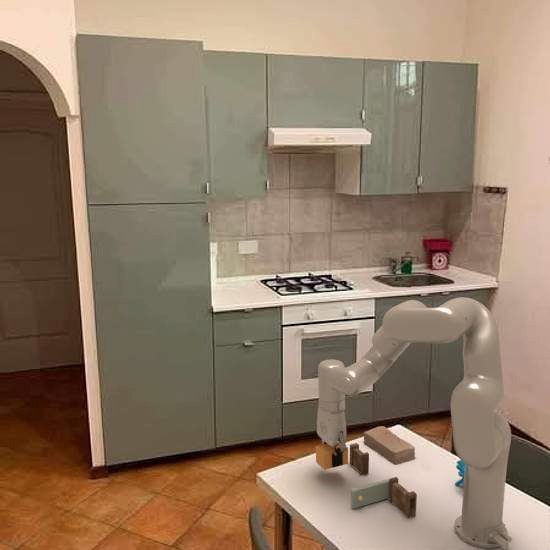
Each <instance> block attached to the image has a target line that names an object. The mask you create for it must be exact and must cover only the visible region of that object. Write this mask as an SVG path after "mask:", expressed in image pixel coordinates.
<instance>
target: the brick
mask: <svg viewBox="0 0 550 550" xmlns="http://www.w3.org/2000/svg"><path fill="white" fill-rule="evenodd" d="M363 443H364V444H365V445H366V446H367V445H368V446H369V448H370V449H371V450H373V451H374V450H375V451H374V452H376V453H377V452H378V453H377V454H379V455H380V454H381V456H382V457H383V456H384V457H383V458H385V459H386V460H388V461H389V462H391V463H393V464H394V465H397V466H398V465H400V464H404V463H406V462H411V461H413V460H415V459H416V457H415V455H416V452H415V450H416V447H415V446H414V445H412V444H411V443H410V442H408V441H407V440H404V439H402V438H400V437H398V435H396V434H395V433H393V432H392V431H391V430H390V429H388V428H387V427H385V426H384V425H383V426H382V425H381V426H377V427H375V428H374V427H373V428H371V429H369V430H365V431H364V432H363ZM368 446H367V447H368Z"/></svg>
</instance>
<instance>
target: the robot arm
mask: <svg viewBox="0 0 550 550" xmlns="http://www.w3.org/2000/svg"><path fill="white" fill-rule="evenodd" d="M381 324H382V325H380V327H378V329H377V330H376V331H375V332H374V334H373V335H372V337H371V344H372V345H371V347H370V348H369V350H367V352H366V353H365V354H364V355H363V356H362V357H361V358H360V359H359V360H358V361H356V362H355V363H353V364H351V365H348V366H346V367H345V364H344V363H343V361H341V360H337V359H325V360H324V359H323V360H322V361H320V363H319V364H318V367H317V369H318V370H317V371H318V372H317V375H318V378H317V379H318V380H317V381H318V383H317V384H318V408H317V415H316V433H317V435H318V437H319V438H320V439H321V445H324V444H329V445H330V446H332V448H333V454H332V467H334V468H338V467H341V466H344V465H343V453H344V451H345V450H346V449H347V447H346V446H347V444H346V442H347V424H346V423H347V422H346V421H347V420H346V414H345V413H346V412H345V411H346V396H349V397H354V396H357V395H359V394H360V393H362V392H363V391H365V390H366V389H367V388H369V387H370V386H372V385H374V384H375V383H376V382H377V381H378V380H379V379H380V378H381V377H382V376H383V375H384V374H385V373H386V372H387V371H389V369H390V368H391V367H392V365H393V364H394V363H395V362H396V361H397V360H398V357H400V356H401V354H402V353H404V351H405V350H406V349H407V348H408V347H409V346H410V345H411V344H412V343H413V344H414V343H415V344H417V343H418V344H447V343H451V342H455V341H457V340H458V339H459V338H461V337H462V339H463V347H462V360H463V379H462V380H461V381H460V382H459V383H458V384H457V385H456V387H454V389H453V391H452V393H451V398H450V415H451V416H450V417H451V424H452V425H451V426H452V429H451V430H452V438H453V439H452V440H453V446H454V450H455V452H456V455H457V456H458V458H459V459H460V460H461V461H462V462H463V463H464V464H465V472H464V483H463V488H462V489H463V490H462V491H463V492H462V506H461V507H462V508H461V515H459V516H458V517H456V519H455V521H454V531H455V533H456V534H457V536H458V538H459V537H460V539H462V540H463V541H464V542H466V543H468V544H470V545H472V546H475V547H479V548H484V549H494V548H499V547H500V548H501V549H503V550H506V549H507V548H508V547H509V543H511V542H512V541H513V537H512V536H510V535H509V533H508V530H507V527H506V524H505V523H504V522H503V516H504V503H505V489H506V481H507V480H506V479H507V477H506V476H507V468H508V459H509V453H510V447H511V441H512V430H511V426H510V424H509V422H508V420H507V419H506V418H505V417H504V416H503V415H502V414H500V413H499V412H497V411H496V410H497V408H498V407H499V406H500V405H501V403H502V402H503V400H504V398H505V387H504V377H503V366H502V358H501V357H502V356H501V346H500V333H499V329H498V324H497V322H496V319H495V317H494V315H493V314H492V312H491V311H490V310H489V309H488V308H487V306H485V305H484V304H483V303H482V302H480V301H477V300H476V299H474V298H470V297H465V296H464V297H463V296H461V297H455V298H453V299H449V300H448V301H446V302H444V303H443V304H441V305H439V306H437V307H427V306H426V305H425V304H424V303H423V302H421V301H420V300H415V299H409V300H406V301H403V302H401V303H399V304H397V305H395V306H393V307H391V308H389V309H388V310H387V311H386V313H385V314H384V316H383V318H382V323H381ZM338 441H339V442H338ZM337 442H338V443H337ZM338 445H339V448H338V449H337V450H336V446H338Z"/></svg>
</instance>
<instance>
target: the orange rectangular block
mask: <svg viewBox="0 0 550 550" xmlns="http://www.w3.org/2000/svg"><path fill="white" fill-rule="evenodd" d="M338 442H339V441H338ZM338 442H337V443H338ZM346 447H347V445H346ZM338 448H339V445H338V446H336V450H337V449H338ZM332 454H333V448H332V446H330V445H329V444H324V445H322V444H319V445H316V446H315V463H316V464H317V465H318V466H319V467H320V468H321V469H322V470H323V471H326V470H330V469H333V468H335V467H332ZM345 465H349V447H347V449H346V450H345V451H344V453H343V465H342V466H345Z"/></svg>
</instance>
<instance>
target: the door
mask: <svg viewBox="0 0 550 550" xmlns="http://www.w3.org/2000/svg"><path fill="white" fill-rule="evenodd" d="M389 479H390V478H386V479H383V480H380V481H376V482H372V483H369V484H368V483H367V484H366V485H362V486H359V487H354V488H351V490H350V507H351V508H352V509H357V508H361V507H363V506H367V505H370V504H373V503H377V502H380V501H383V500H387V499H389Z"/></svg>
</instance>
